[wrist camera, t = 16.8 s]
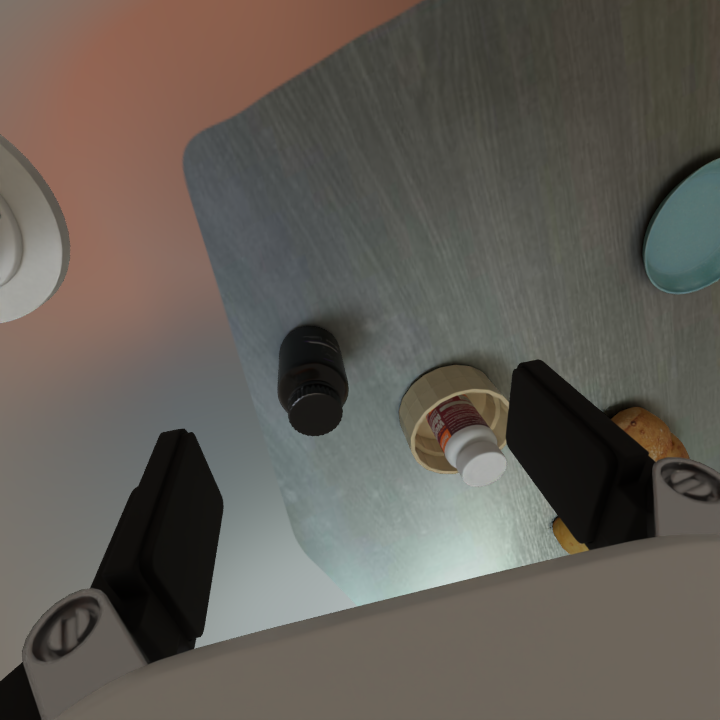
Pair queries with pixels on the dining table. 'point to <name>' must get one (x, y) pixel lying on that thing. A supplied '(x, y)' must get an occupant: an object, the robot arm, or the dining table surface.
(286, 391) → the supplement bottle
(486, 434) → the pill bottle
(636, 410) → the bread
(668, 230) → the saucer
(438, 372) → the beige round bowl
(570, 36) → the dining table surface
